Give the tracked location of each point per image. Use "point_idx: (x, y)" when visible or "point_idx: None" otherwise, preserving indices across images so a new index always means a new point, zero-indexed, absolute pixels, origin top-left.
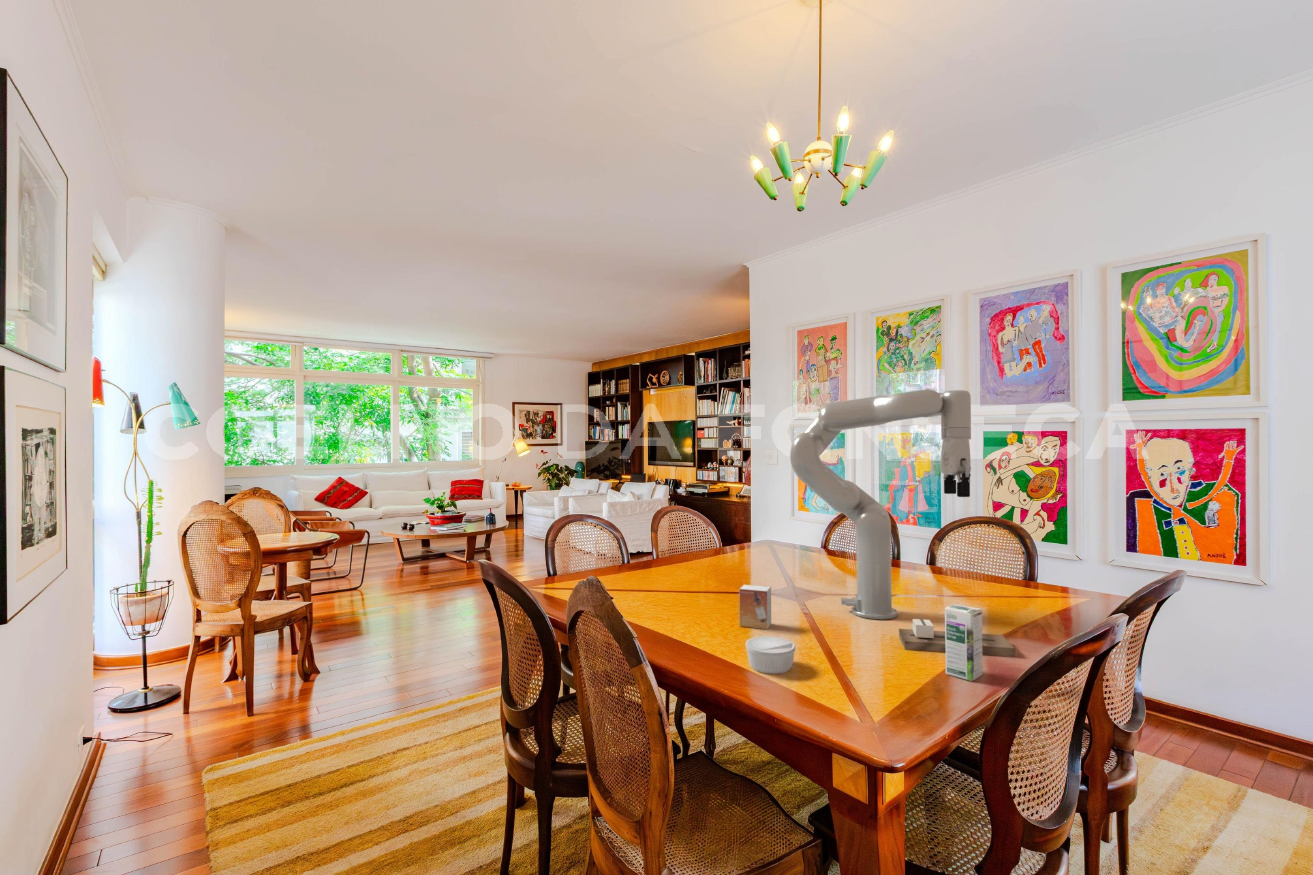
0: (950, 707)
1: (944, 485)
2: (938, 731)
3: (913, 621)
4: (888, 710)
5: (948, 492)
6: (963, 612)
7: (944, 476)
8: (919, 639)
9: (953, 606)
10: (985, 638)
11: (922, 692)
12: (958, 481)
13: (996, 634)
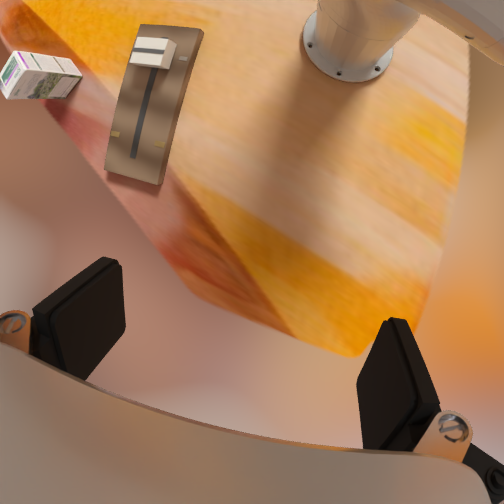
0: (21, 49)
1: (411, 359)
2: (2, 36)
3: (160, 38)
4: (28, 4)
5: (377, 342)
6: (1, 71)
7: (463, 441)
8: None
9: (13, 62)
10: (141, 149)
11: (43, 30)
12: (30, 321)
13: (158, 177)
